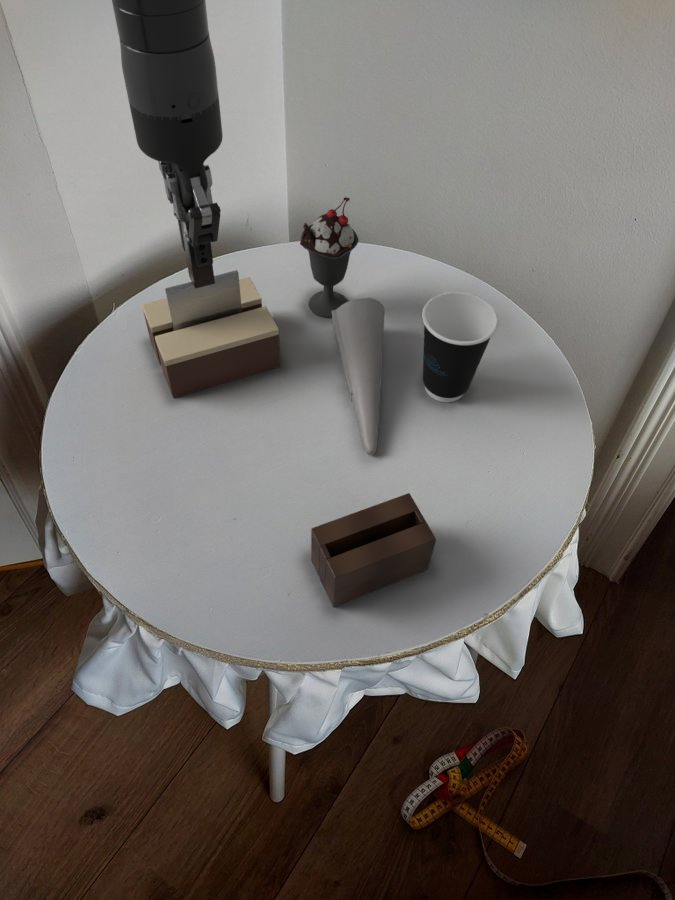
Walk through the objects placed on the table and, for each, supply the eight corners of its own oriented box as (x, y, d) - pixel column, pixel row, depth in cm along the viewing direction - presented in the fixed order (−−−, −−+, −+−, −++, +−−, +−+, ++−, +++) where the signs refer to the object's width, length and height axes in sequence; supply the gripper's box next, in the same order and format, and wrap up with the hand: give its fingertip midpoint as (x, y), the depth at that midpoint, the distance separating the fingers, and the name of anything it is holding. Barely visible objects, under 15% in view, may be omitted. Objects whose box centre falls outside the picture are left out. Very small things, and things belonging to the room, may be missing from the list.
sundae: (364, 299, 93) (372, 196, 81) (336, 329, 89) (339, 227, 77) (321, 280, 95) (322, 177, 83) (291, 309, 91) (289, 205, 79)
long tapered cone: (423, 429, 75) (383, 293, 85) (363, 441, 75) (330, 303, 84) (422, 456, 80) (384, 324, 90) (365, 468, 80) (334, 334, 89)
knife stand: (333, 607, 67) (335, 578, 62) (311, 559, 70) (311, 528, 65) (428, 569, 70) (436, 538, 65) (402, 525, 73) (409, 492, 68)
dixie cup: (483, 370, 86) (503, 299, 77) (472, 419, 81) (492, 350, 73) (418, 355, 87) (430, 284, 78) (404, 403, 82) (415, 333, 74)
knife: (181, 362, 83) (155, 231, 69) (176, 349, 85) (149, 218, 70) (247, 344, 86) (235, 212, 71) (241, 331, 87) (227, 200, 72)
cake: (173, 398, 82) (164, 361, 77) (150, 342, 87) (141, 304, 82) (280, 366, 85) (278, 329, 81) (252, 314, 91) (249, 276, 86)
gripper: (109, 60, 64) (144, 227, 77) (150, 140, 56) (182, 309, 70) (191, 46, 66) (212, 211, 79) (242, 122, 58) (255, 290, 72)
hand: (198, 257), depth 75 cm, fingers closed on knife, 2 cm apart
